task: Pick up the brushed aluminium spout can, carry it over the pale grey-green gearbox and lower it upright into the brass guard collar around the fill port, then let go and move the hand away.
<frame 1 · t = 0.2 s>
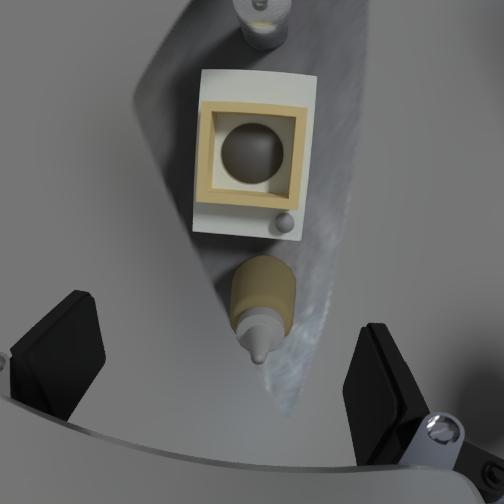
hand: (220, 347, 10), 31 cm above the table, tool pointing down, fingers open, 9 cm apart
squeeze bottle: (264, 273, 43), on the table
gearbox: (255, 151, 37), on the table
spout can: (265, 31, 32), on the table
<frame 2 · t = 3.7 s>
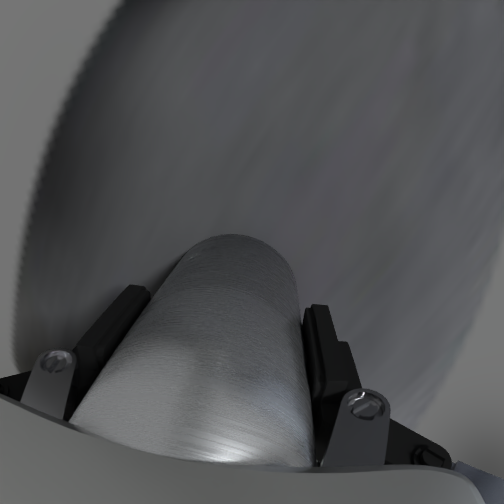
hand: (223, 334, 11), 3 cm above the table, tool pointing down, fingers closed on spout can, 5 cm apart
spout can: (233, 294, 14), on the table, touching gripper
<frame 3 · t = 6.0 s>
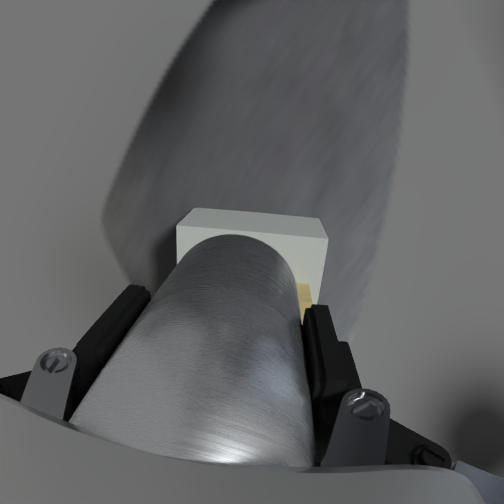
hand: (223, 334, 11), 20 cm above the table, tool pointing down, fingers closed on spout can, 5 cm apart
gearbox: (249, 295, 33), on the table
spout can: (233, 294, 14), point 17 cm above the table, touching gripper
when the fingers open (10 cm above the table, at t = 8.6 s): spout can drops 1 cm, resting on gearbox.
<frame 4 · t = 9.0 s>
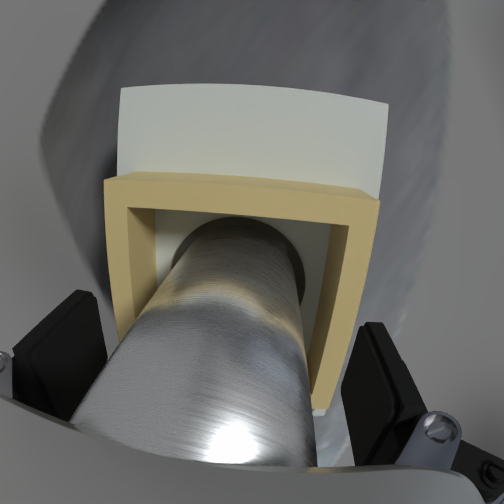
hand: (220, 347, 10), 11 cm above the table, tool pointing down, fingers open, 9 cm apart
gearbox: (247, 243, 21), on the table
spout can: (235, 283, 15), point 6 cm above the table, touching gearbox
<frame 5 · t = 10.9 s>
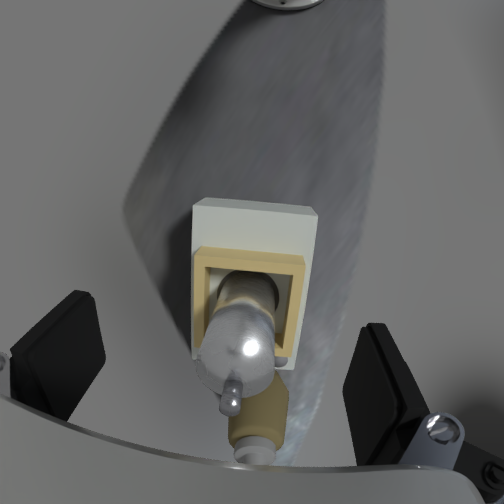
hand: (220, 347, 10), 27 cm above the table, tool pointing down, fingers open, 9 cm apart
squeeze bottle: (260, 379, 43), on the table
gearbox: (251, 276, 38), on the table
spout can: (247, 297, 32), point 6 cm above the table, touching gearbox
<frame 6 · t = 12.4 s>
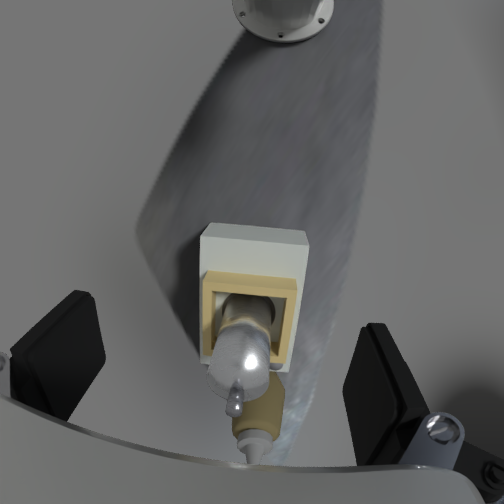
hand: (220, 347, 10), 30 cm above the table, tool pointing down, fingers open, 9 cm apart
squeeze bottle: (260, 377, 49), on the table
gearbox: (252, 290, 43), on the table
spout can: (248, 312, 37), point 6 cm above the table, touching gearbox
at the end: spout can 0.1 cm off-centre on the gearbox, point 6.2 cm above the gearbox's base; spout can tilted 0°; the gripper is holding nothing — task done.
